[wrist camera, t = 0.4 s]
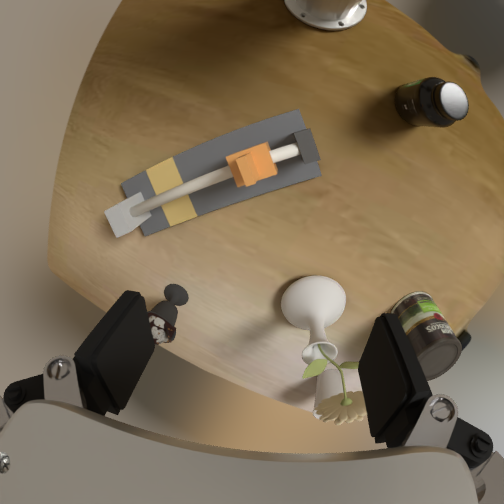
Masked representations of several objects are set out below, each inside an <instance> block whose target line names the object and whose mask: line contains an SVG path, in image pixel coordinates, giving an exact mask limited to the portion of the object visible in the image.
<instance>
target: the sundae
mask: <svg viewBox="0 0 504 504" xmlns="http://www.w3.org/2000/svg"><path fill="white" fill-rule="evenodd" d="M164 294H165V297H166V299H167V300H168V301H161V302H160V303H158V304H157V305H156V306H155V307H154V308H153V309H152V310H151V311H149V312H147V313H148V318H149V322H150V327H151V331H152V335H153V339H154V343H155V345H158V344H161V343H169V342H172V341H173V340H174V338H175V335H176V328H175V327H174V325H175V322H176V319H177V314H178V311H177V308H176V306H175V305H177V306H181V305H184V304H186V303H187V301H188V294H187V292H186V290H185V289H184V288H183V287H181V286H179V285H176V284H170V285H168V286H167V287H166V288H165V291H164Z"/></svg>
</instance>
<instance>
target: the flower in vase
mask: <svg viewBox="0 0 504 504" xmlns="http://www.w3.org/2000/svg"><path fill="white" fill-rule="evenodd" d="M345 304H346V295H345V292H344V290H343V288H342V287H341V286H340V284H339V283H337V282H336V281H335V280H333V279H331V278H328V277H325V276H307V277H304V278H301V279H299V280H297V281H295V282H294V283H292V284H291V285H290V286H289V287H288V288H287V289H286V291H285V292H284V294H283V296H282V300H281V308H282V312H283V314H284V316H285V317H286V319H287V320H288V321H289V322H290V323H291V324H292V325H294V326H296V327H298V328H300V329H304V330H310V341H309V344H308V346H307V347H306V348H305V349H304V350H303V352H302V359H303V361H304V362H305V363H307V364H309V365H308V367H307V368H306V370H305V372H304V374H303V378H308V377H313V376H317V375H320V374H321V373H322V372H323V371H324V369H325V367H326V365H327V364H329V363H330V362H331V363H332V364H334V365H335V366H336V367H337V368H338V370H339V371H340V374H341V379H342V385H343V392H344V393H339V394H338V395H333V396H331V397H330V398H326V399H323V400H322V401H321V402H322V403H320V404H318V407H316V408H315V410H318V411H316V414H317V415H322V416H320V417H319V419H320V420H323V422H328V421H332V420H335V421H334V423H335V424H336V425H340V424H342V423H343V422H344V421H345V422H346V423H351V422H352V421H353V420H356V421H361V420H362V419H363V416H364V415H367V411H366V406H365V401H364V396H363V392H362V391H357V392H354V393H353V392H352V391H350V392H346V389H345V382H344V376H343V372H342V370H341V368H347V369H357V368H358V365H359V362H344V363H342V364H341V365H340V366H338V365H337V364H336V363H335V362H334V361H333V360H334V359H335V358H336V356H337V353H338V351H337V348H336V347H335V346H334V345H333V344H331V343H329V341H328V340H327V338H326V335H325V331H324V328H326V327H328V326H330V325H331V324H333V323H334V322H336V321H337V320H338V319H339V318H340V316H341V315H342V313H343V311H344V308H345Z"/></svg>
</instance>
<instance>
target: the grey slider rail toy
mask: <svg viewBox="0 0 504 504" xmlns="http://www.w3.org/2000/svg"><path fill="white" fill-rule="evenodd" d="M264 142H268V144H269V147H270V150H271V151H269V152H270V155H271V157H272V160H273V163H276V166H277V169H278V171H277V174H276V175H273V176H270V177H267V178H264V179H261V180H258V181H257V182H256V184H253V185H250V186H247V187H246V185H244V186H241V187H237V185H236V182H235V180H234V177H233V175H232V172H231V170H230V167H229V165H228V162H227V160H226V157H227V156H229V155H231V154H233V153H236V152H239V151H241V150H244V149H247V148H250V147H252V146H255V145H258V144H261V143H264ZM318 160H320V157H319V154H318V151H317V147H316V144H315V142H314V139H313V136H312V133H311V130H310V129H306V127H305V124H304V122H303V119H302V116H301V113H300V111H299V109H297V110H294V111H290V112H287V113H284V114H281V115H278V116H275V117H271V118H268V119H265V120H262V121H260V122H257V123H254V124H251V125H248V126H245V127H243V128H240V129H237V130H235V131H232V132H230V133H227V134H224V135H222V136H219V137H217V138H214V139H212V140H210V141H207V142H205V143H202V144H200V145H198V146H196V147H193V148H191V149H189V150H187V151H184V152H182V153H180V154H178V155H176V156H173V157H171V158H169V159H167V160H165V161H163V162H161V163H159V164H157V165H155V166H153V167H151V168H149V169H147V170H145V171H143V172H141V173H139V174H137V175H136V176H134V177H132V178H130V179H128V180H126V181H125V182H123V183H121V185H122V187H123V190H124V192H125V194H126V197H127V199H125V200H124V201H122V202H120V203H118V204H116V205H115V206H113V207H111V208H109V209H107V210H106V211H104V213H105V215H106V217H107V219H108V221H109V223H110V225H111V227H112V229H113V232H114V234H115V236H116V238H118V237H120V236H122V235H124V234H127V233H129V232H131V231H132V230H134V229H135V228H136V227H138V226H139V225H140V227H141V229H142V231H143V233H144V235H145V236H147V235H150V234H152V233H155V232H157V231H160V230H163V229H165V228H168V227H170V226H173V225H176V224H179V223H181V222H184V221H187V220H189V219H192V218H195V217H197V216H200V215H203V214H205V213H208V212H211V211H214V210H216V209H219V208H222V207H225V206H228V205H231V204H234V203H237V202H240V201H243V200H246V199H248V198H251V197H255V196H258V195H261V194H264V193H267V192H270V191H273V190H276V189H279V188H282V187H286V186H289V185H292V184H295V183H299V182H302V181H305V180H309V179H312V178H315V177H319V176H322V175H321V172H320V169H319V166H318V162H317V161H318Z"/></svg>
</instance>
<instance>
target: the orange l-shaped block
mask: <svg viewBox="0 0 504 504" xmlns="http://www.w3.org/2000/svg"><path fill="white" fill-rule="evenodd" d="M269 151H271V150H270V147H269V144H268V142H264V143H261V144H258V145H255V146H252V147H250V148H247V149H244V150H241V151H239V152H236V153H233V154H231V155H229V156H227V157H226V160H227V162H228V165H229V167H230V170H231V172H232V175H233V177H234V180H235V182H236V185H237V187H241V186H244V185H246V187H247V186H250V185H253V184H256V182H257V181H258V180H261V179H264V178H267V177H270V176H273V175H276V174H277V171H278V169H277V166H276V163H273V160H272V157H271V155H270V152H269Z"/></svg>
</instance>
